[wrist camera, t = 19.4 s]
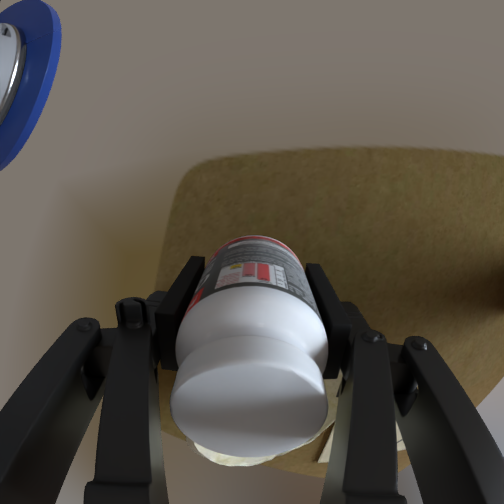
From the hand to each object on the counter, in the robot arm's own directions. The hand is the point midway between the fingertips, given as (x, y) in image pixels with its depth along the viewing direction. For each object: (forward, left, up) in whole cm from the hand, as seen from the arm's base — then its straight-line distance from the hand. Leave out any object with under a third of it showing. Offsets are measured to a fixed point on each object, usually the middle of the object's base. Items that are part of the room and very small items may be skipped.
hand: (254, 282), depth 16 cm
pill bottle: (0, 0, 0) cm, 0 cm away
